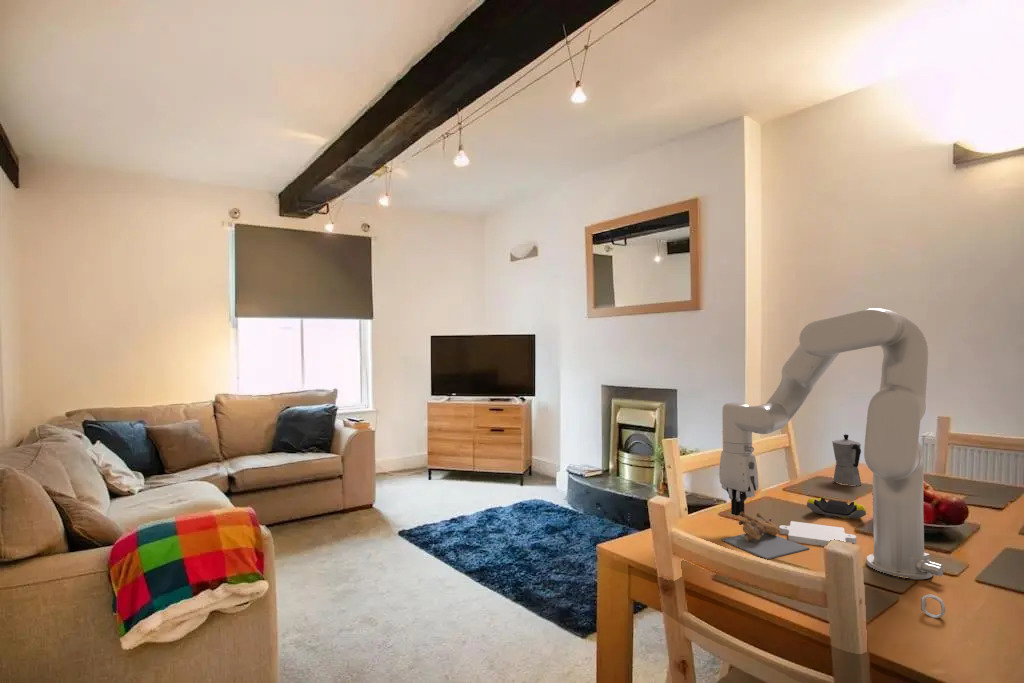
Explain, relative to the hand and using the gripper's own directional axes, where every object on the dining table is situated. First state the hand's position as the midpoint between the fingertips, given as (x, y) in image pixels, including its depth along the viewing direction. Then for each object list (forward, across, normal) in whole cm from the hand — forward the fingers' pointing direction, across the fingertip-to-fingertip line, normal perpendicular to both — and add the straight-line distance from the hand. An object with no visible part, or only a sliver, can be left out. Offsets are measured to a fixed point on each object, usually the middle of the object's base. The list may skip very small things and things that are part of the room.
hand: (737, 514), depth 150 cm
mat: (+5, -10, +1) cm, 11 cm away
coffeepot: (+5, +20, -75) cm, 78 cm away
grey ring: (+5, -50, +3) cm, 50 cm away
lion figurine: (+2, -1, -2) cm, 3 cm away
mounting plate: (+6, -12, -16) cm, 21 cm away
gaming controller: (+5, -3, -37) cm, 37 cm away
